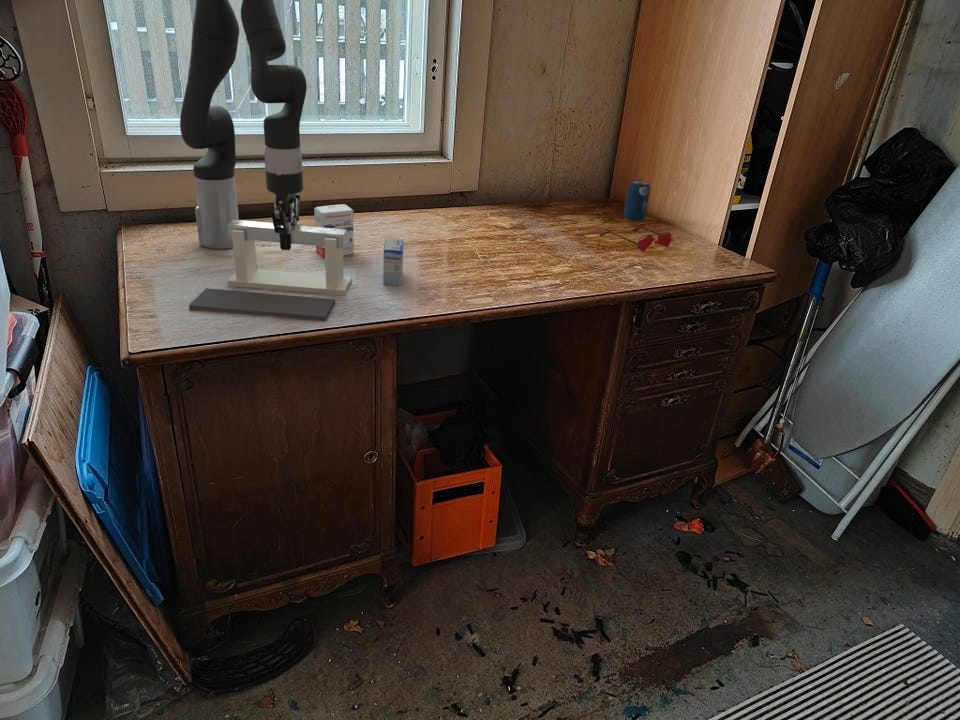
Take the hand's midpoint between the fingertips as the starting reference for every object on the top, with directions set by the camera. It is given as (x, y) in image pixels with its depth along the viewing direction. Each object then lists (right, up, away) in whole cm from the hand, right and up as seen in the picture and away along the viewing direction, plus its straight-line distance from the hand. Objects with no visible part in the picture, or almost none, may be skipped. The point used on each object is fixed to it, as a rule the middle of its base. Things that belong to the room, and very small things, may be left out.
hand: (288, 246), depth 152 cm
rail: (0, +1, -1) cm, 1 cm away
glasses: (+88, +9, +51) cm, 102 cm away
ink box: (+5, +2, +24) cm, 24 cm away
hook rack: (-1, -8, +4) cm, 9 cm away
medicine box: (+22, -6, +11) cm, 25 cm away
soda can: (+92, +20, +71) cm, 118 cm away
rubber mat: (-3, -14, -7) cm, 16 cm away
